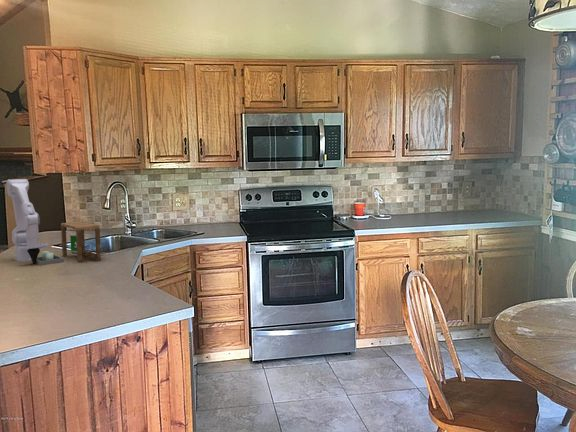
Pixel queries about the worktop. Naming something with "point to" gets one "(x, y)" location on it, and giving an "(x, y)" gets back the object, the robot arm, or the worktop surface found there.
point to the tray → (55, 260)
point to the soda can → (73, 242)
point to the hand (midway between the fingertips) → (34, 263)
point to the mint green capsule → (49, 256)
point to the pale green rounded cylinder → (44, 255)
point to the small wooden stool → (81, 239)
